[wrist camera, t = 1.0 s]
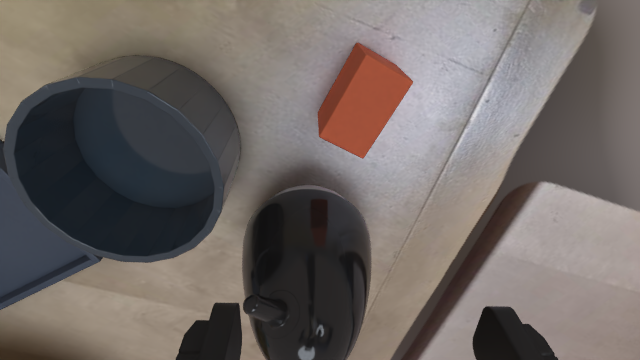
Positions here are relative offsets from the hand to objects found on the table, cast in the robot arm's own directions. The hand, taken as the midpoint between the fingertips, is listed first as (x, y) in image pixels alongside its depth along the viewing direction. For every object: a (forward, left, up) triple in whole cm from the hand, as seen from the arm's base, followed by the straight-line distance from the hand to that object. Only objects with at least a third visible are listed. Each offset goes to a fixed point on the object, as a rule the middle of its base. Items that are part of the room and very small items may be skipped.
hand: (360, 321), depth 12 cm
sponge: (+1, +3, -19) cm, 20 cm away
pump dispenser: (+3, -9, -20) cm, 22 cm away
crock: (-11, -8, -19) cm, 24 cm away
